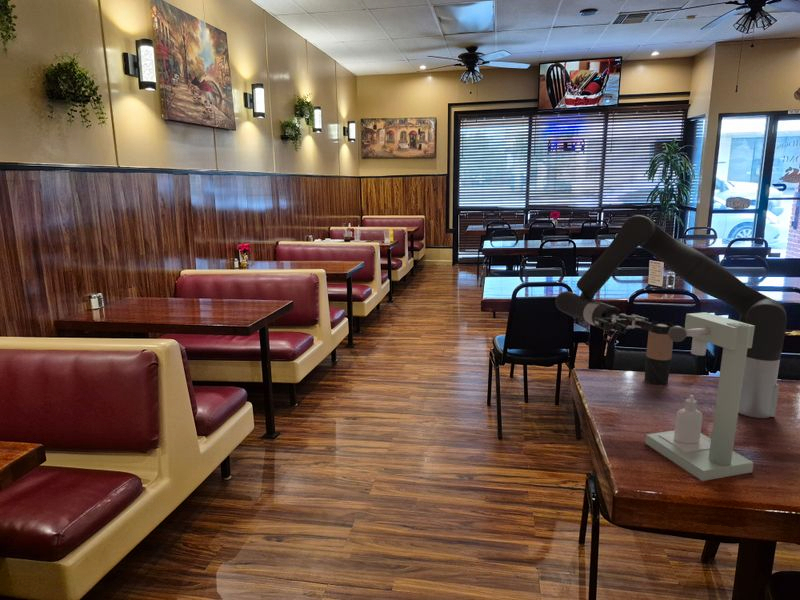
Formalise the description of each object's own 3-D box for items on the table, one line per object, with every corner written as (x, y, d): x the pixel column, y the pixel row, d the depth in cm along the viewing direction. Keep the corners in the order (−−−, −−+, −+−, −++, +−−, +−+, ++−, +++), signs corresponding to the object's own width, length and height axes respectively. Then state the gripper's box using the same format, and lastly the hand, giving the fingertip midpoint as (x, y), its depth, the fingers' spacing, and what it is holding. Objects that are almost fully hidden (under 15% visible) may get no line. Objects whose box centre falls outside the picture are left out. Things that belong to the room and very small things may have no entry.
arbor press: (626, 446, 129) (638, 312, 122) (690, 436, 134) (706, 307, 127) (680, 484, 112) (699, 332, 105) (752, 472, 117) (774, 325, 110)
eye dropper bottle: (674, 434, 129) (679, 390, 127) (699, 439, 127) (705, 394, 124) (673, 441, 126) (678, 396, 123) (699, 447, 123) (705, 400, 121)
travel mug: (658, 386, 168) (665, 328, 164) (638, 379, 175) (644, 323, 171) (673, 382, 172) (680, 325, 168) (653, 375, 179) (659, 320, 174)
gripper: (582, 305, 153) (617, 317, 138) (622, 302, 157) (661, 313, 141) (580, 329, 155) (615, 343, 140) (620, 325, 158) (659, 339, 143)
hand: (638, 328), depth 141 cm, fingers open, 8 cm apart
